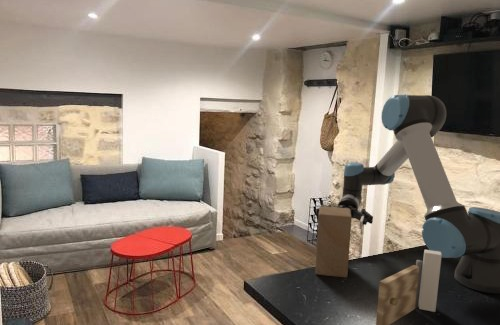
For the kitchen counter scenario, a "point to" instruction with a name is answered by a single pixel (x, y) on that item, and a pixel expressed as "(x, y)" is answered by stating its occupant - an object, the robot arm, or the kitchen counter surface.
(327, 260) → the wooden block
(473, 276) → the robot arm
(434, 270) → the wall stub
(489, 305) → the kitchen counter surface
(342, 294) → the kitchen counter surface
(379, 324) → the gate
